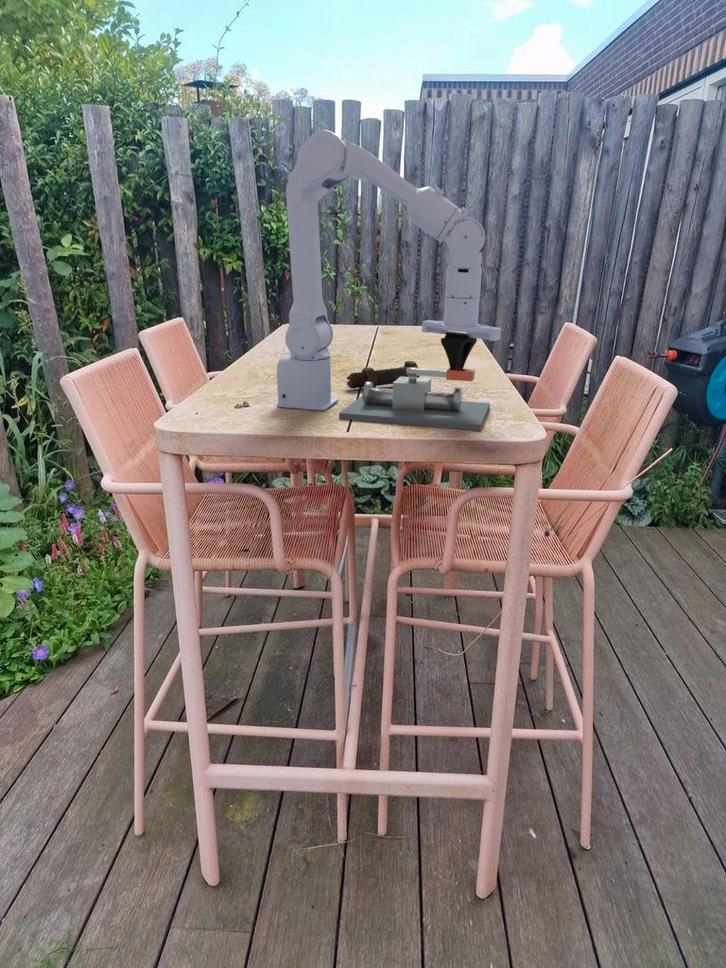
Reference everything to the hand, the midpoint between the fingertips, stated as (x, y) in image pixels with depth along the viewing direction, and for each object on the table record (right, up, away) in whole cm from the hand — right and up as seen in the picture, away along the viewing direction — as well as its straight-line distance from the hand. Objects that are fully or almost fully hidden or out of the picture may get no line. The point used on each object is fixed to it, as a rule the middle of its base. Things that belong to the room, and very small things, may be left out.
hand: (456, 378), depth 103 cm
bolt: (-12, +2, +22) cm, 25 cm away
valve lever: (-3, 0, -2) cm, 4 cm away
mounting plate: (-7, -6, +2) cm, 9 cm away
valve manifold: (-8, -6, +2) cm, 10 cm away
